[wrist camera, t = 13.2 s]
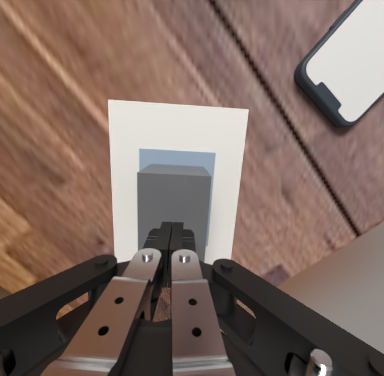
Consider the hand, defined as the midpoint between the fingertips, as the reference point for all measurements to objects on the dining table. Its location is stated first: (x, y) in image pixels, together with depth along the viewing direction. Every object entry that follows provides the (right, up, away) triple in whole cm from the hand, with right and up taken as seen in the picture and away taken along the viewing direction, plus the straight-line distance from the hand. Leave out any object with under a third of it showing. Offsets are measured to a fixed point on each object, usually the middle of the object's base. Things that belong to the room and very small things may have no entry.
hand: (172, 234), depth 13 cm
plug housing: (0, +2, +8) cm, 8 cm away
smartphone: (+20, +18, +6) cm, 28 cm away
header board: (-1, +2, +9) cm, 9 cm away
